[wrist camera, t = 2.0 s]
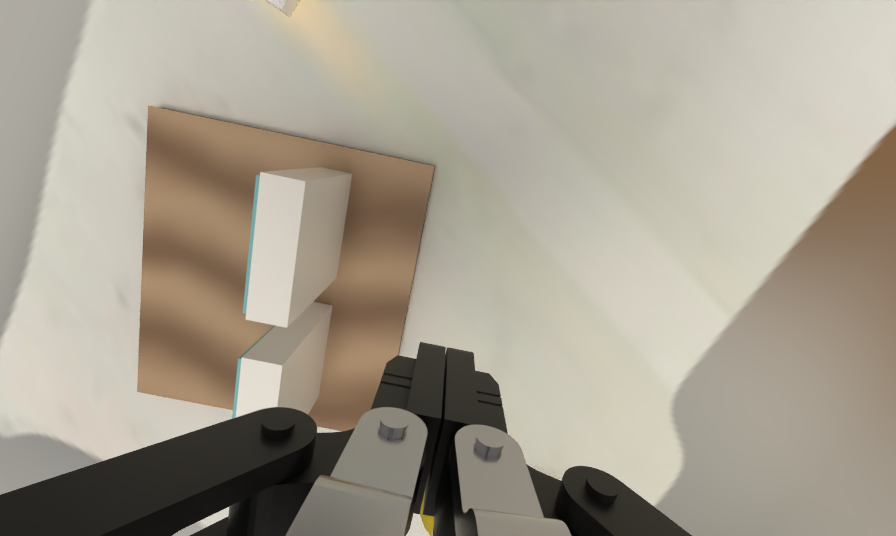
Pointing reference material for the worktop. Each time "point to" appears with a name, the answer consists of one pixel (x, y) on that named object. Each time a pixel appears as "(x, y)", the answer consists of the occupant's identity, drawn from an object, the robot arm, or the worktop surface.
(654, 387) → the worktop surface
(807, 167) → the worktop surface
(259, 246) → the tile near
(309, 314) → the tile far
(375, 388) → the board
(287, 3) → the white light switch
